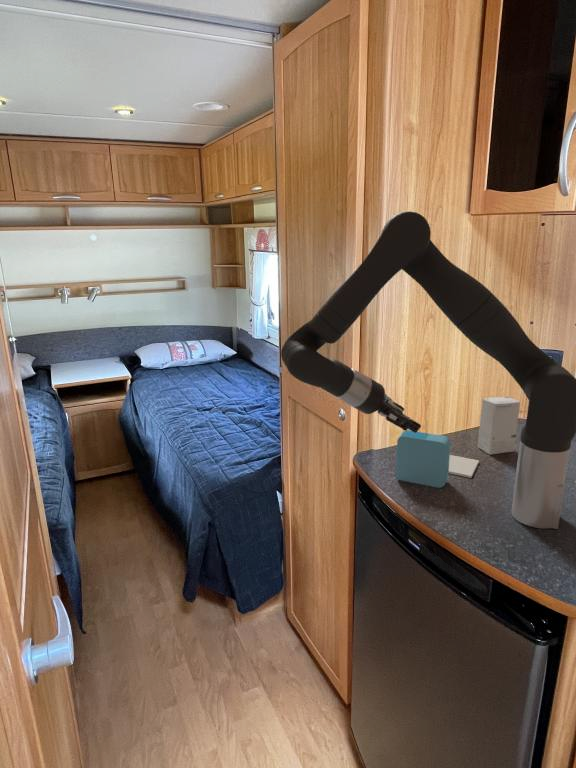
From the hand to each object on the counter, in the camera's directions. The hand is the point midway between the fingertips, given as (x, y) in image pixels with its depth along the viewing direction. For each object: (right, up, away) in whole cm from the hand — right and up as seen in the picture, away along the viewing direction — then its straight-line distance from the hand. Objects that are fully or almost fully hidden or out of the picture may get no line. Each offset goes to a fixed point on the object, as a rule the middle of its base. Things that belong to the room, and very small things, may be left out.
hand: (409, 419), depth 118 cm
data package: (+5, -16, +7) cm, 18 cm away
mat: (+14, -13, +15) cm, 24 cm away
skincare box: (+30, -10, +23) cm, 39 cm away
